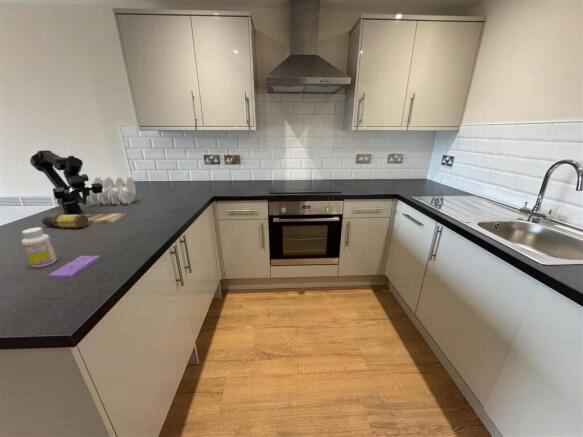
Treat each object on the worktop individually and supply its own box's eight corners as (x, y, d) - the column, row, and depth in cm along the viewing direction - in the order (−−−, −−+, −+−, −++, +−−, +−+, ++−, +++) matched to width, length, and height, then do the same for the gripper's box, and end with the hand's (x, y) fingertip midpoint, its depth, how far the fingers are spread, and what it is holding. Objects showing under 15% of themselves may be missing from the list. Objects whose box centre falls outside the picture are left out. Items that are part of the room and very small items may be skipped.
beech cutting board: (72, 223, 122) (71, 220, 122) (87, 216, 133) (87, 213, 132) (113, 222, 124) (113, 220, 124) (125, 215, 134) (125, 213, 134)
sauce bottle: (87, 213, 118) (51, 212, 119) (75, 216, 112) (37, 215, 113) (90, 226, 119) (54, 224, 121) (78, 230, 113) (41, 228, 115)
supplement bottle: (43, 258, 88) (30, 226, 84) (62, 258, 89) (51, 225, 84) (25, 268, 82) (11, 233, 77) (46, 267, 82) (33, 233, 78)
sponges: (101, 260, 89) (99, 255, 88) (71, 279, 77) (70, 274, 76) (82, 259, 89) (80, 255, 88) (49, 279, 77) (48, 274, 76)
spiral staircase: (100, 208, 158) (141, 205, 162) (80, 204, 141) (126, 201, 144) (99, 181, 160) (139, 179, 163) (80, 174, 143) (125, 171, 146)
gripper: (46, 171, 110) (58, 199, 107) (96, 167, 123) (108, 191, 121) (49, 185, 117) (60, 211, 114) (96, 180, 131) (107, 203, 128)
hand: (85, 204), depth 119 cm, fingers closed
